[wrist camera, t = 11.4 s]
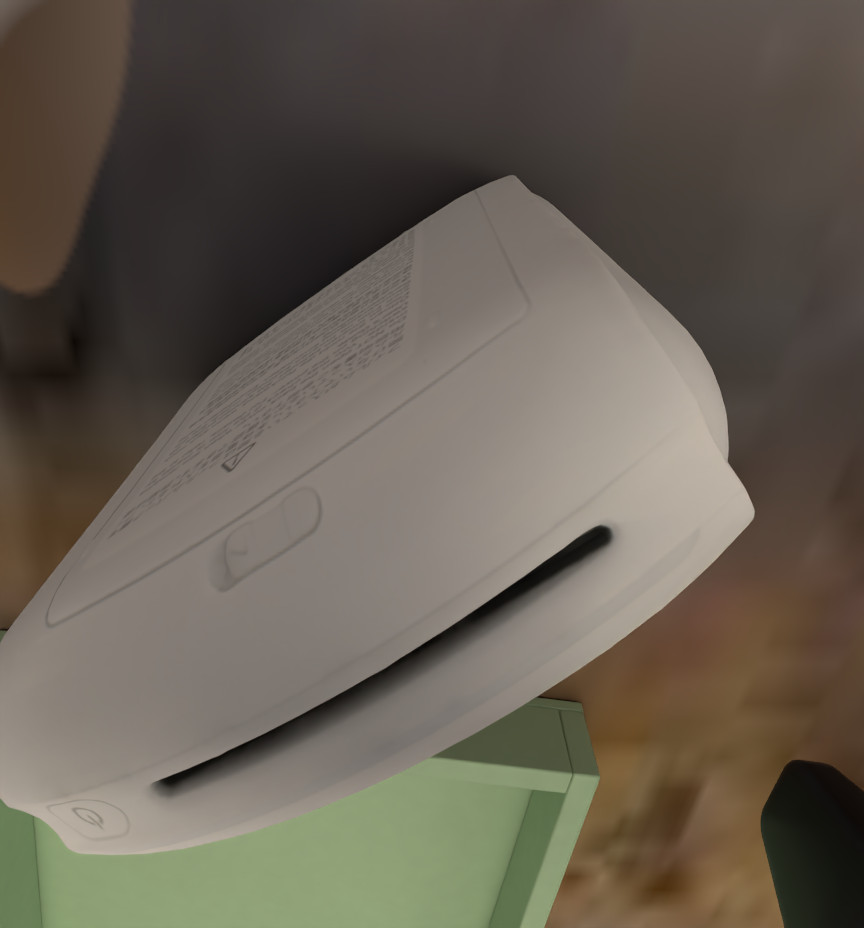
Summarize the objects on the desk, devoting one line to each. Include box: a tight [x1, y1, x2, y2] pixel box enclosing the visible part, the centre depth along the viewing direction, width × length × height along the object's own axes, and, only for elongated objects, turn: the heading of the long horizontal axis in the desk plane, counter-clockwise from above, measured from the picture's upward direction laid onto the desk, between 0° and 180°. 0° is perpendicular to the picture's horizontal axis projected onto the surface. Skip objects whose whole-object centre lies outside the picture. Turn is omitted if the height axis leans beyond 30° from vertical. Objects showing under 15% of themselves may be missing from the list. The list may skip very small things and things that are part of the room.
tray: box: [0, 630, 600, 928], centre depth 25 cm, size 18×16×3 cm
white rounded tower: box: [0, 175, 755, 855], centre depth 13 cm, size 10×4×12 cm, turn 124°
